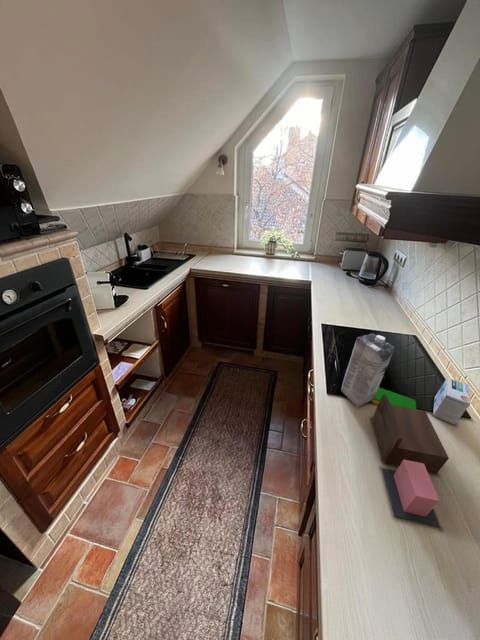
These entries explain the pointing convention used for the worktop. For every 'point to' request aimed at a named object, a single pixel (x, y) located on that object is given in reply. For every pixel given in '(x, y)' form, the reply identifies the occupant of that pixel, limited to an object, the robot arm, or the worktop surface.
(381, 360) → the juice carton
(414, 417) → the walnut shelf
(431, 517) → the slate mat
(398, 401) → the dish sponge
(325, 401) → the worktop surface
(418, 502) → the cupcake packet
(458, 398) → the light bulb box
